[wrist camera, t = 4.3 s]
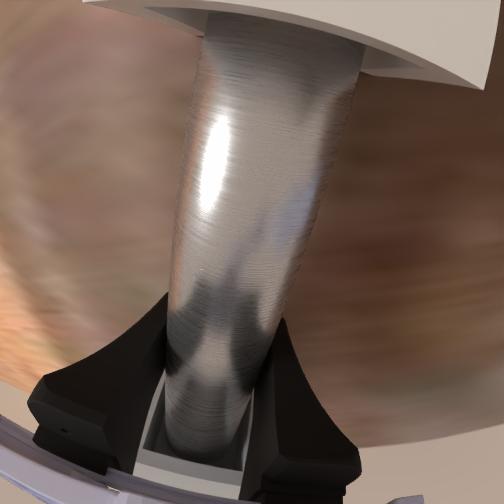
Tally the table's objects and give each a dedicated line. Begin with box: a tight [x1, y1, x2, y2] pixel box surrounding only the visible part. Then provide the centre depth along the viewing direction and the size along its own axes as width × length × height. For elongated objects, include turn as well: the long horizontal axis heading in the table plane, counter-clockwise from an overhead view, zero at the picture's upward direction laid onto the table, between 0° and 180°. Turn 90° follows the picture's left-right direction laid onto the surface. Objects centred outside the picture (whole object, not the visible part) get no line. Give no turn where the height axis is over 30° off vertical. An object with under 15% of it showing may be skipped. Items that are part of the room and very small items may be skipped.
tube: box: [165, 10, 366, 464], centre depth 10 cm, size 4×22×4 cm, turn 168°
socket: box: [133, 370, 254, 500], centre depth 16 cm, size 8×6×7 cm
